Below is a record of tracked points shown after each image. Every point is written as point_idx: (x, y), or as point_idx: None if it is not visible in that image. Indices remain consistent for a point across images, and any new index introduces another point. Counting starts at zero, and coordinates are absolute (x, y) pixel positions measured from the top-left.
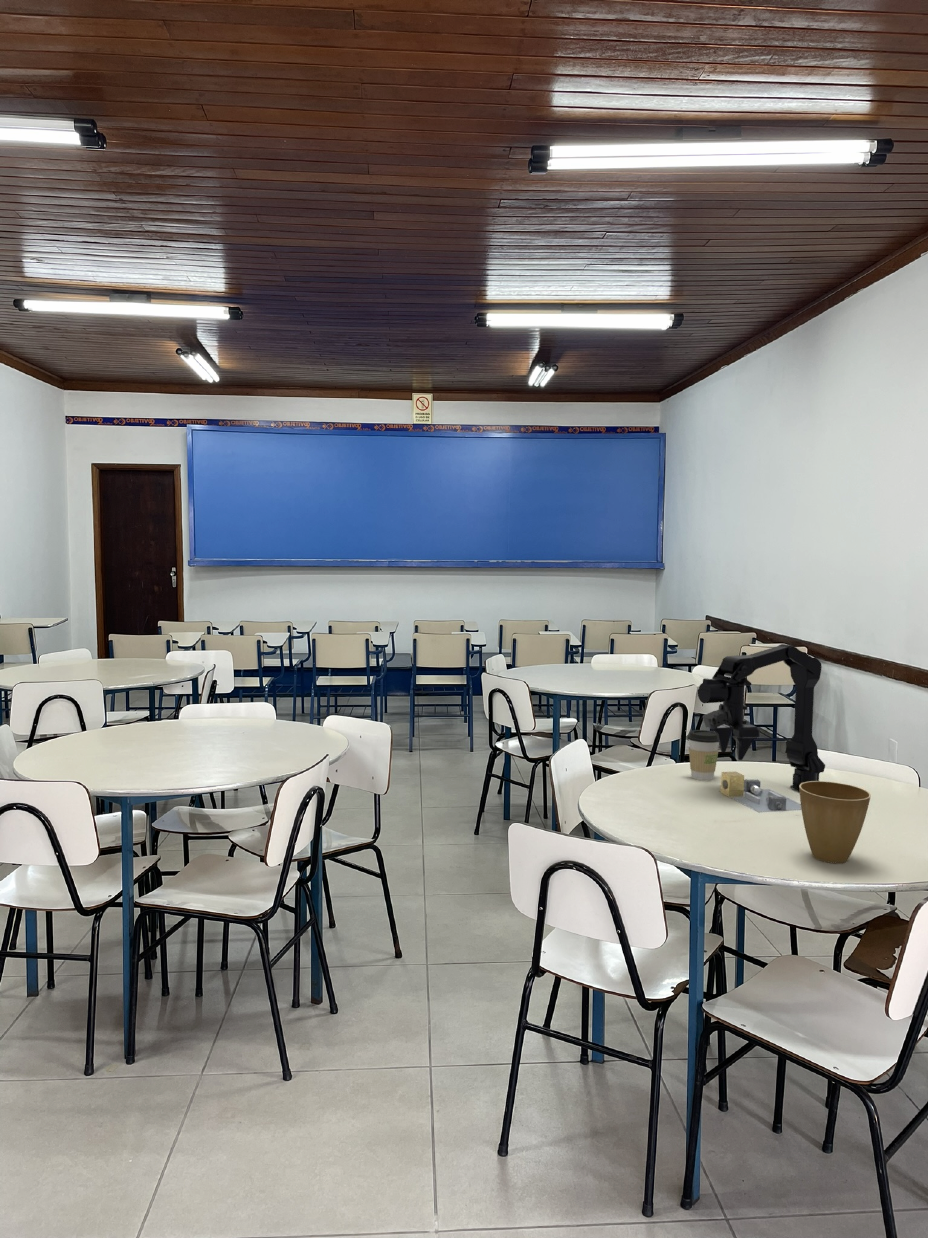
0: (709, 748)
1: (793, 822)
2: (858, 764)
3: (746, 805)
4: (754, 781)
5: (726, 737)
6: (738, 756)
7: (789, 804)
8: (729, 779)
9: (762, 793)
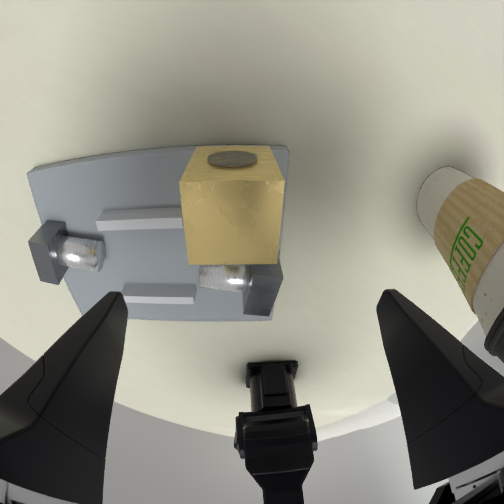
0: (495, 278)
1: (16, 236)
2: (353, 427)
3: (85, 164)
4: (247, 298)
5: (418, 411)
6: (97, 307)
7: None
8: (186, 174)
9: None
